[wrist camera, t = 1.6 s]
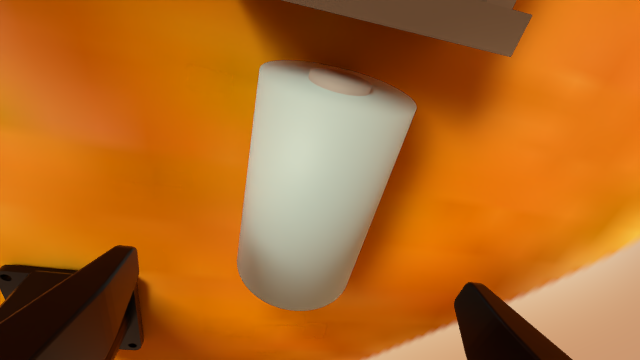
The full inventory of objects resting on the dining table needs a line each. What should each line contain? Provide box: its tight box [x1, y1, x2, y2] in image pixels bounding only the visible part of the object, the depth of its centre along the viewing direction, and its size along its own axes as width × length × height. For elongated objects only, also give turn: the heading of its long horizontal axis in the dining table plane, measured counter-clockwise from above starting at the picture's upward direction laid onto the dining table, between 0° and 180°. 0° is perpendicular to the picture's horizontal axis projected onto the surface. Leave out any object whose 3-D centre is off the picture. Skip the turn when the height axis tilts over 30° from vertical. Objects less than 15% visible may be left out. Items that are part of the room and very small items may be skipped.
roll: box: [237, 60, 417, 311], centre depth 12 cm, size 8×5×5 cm, turn 167°
